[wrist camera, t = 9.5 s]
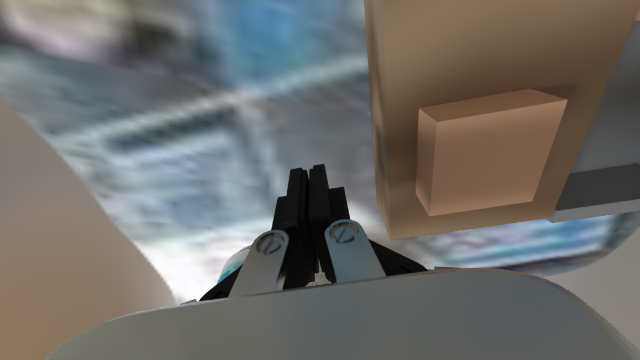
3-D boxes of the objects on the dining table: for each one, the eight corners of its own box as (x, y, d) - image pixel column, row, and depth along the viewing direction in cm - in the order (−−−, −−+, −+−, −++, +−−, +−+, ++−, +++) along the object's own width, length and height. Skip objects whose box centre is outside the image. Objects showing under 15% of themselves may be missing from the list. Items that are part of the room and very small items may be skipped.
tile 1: (418, 108, 12) (436, 122, 10) (529, 88, 11) (568, 99, 10) (415, 193, 14) (429, 216, 13) (505, 179, 14) (532, 201, 12)
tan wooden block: (354, -142, 10) (376, -224, 7) (614, -206, 10) (782, -334, 6) (377, 203, 20) (390, 240, 16) (508, 183, 19) (551, 217, 16)
